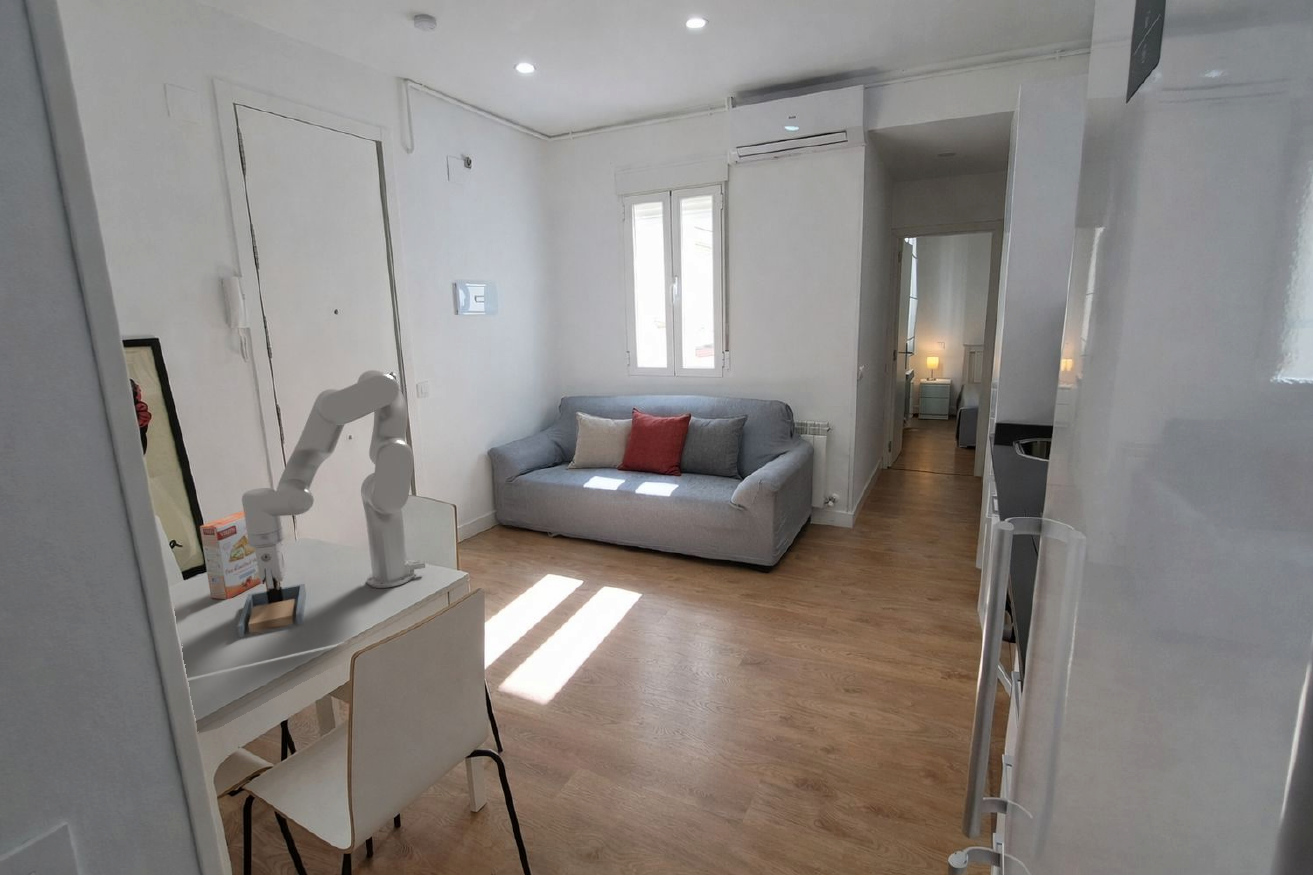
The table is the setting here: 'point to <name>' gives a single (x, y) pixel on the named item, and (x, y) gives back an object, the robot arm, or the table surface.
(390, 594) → the table surface
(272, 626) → the tan square slab
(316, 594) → the table surface
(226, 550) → the cracker box
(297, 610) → the blue-grey open-ended tray
